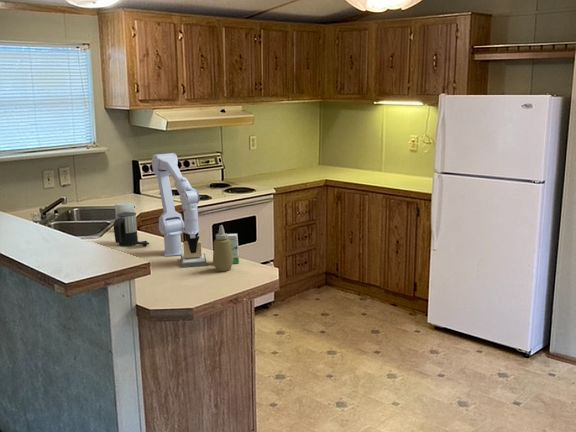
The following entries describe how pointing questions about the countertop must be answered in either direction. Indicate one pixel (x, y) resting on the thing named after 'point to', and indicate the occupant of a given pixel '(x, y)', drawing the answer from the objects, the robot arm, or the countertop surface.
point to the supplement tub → (124, 207)
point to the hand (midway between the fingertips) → (193, 251)
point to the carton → (187, 250)
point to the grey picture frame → (193, 261)
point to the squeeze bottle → (222, 251)
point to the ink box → (234, 247)
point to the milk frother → (127, 230)
